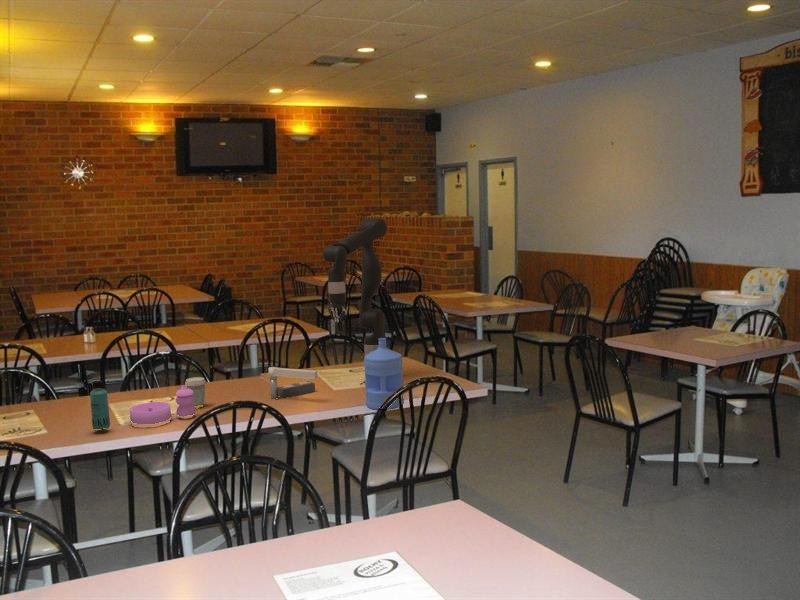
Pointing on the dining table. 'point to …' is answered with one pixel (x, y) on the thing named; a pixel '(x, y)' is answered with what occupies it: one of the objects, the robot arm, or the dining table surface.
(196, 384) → the coffee cup
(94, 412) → the beverage bottle
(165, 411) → the container set
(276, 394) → the post
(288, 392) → the block
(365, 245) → the robot arm
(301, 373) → the bar
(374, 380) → the water jug
